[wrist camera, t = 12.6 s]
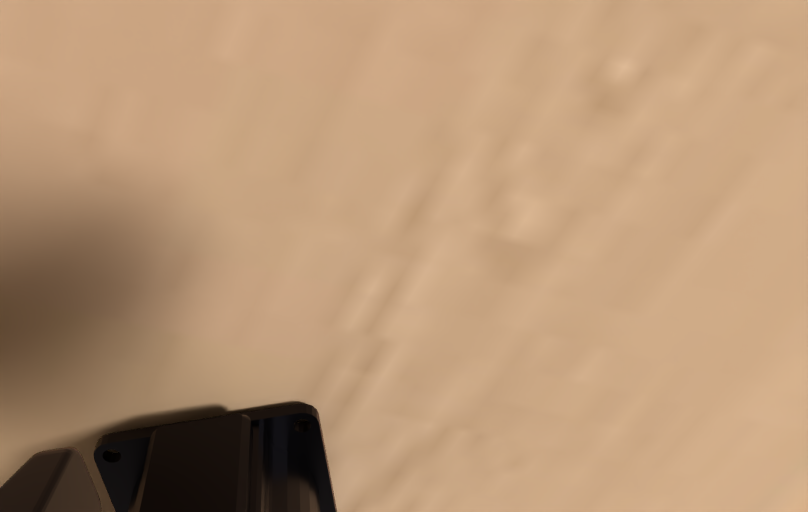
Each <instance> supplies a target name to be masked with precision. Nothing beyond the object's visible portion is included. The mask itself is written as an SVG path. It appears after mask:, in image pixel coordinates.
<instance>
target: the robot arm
mask: <svg viewBox="0 0 808 512" xmlns="http://www.w3.org/2000/svg"><path fill="white" fill-rule="evenodd" d="M300 419H306V420H308V421H307V422H305V423H298V422H296V421H297V420H300ZM108 450H116V451H118V452H117V453H114V452H110V451H108ZM94 460H95V462H96V465H97V467H98V470H99V472H100V474H101V477H102V479H103V482H104V484H105V487H106V489H107V492H108V494H109V496H110V499H111V501H112V504H113V506H114V509H115V511H116V512H337V509H336V503H335V498H334V493H333V487H332V482H331V477H330V472H329V466H328V461H327V456H326V450H325V445H324V440H323V435H322V429H321V424H320V419H319V414H318V412H317V409H315V408H314V407H313V406H311V405H308V404H295V405H289V406H283V407H276V408H270V409H263V410H257V411H251V412H244V413H238V414H232V415H225V416H219V417H212V418H206V419H200V420H193V421H187V422H180V423H174V424H168V425H161V426H155V427H149V428H142V429H136V430H129V431H123V432H117V433H110V434H107V435H104V436H102V437H101V438H100V439H99V440H98V442H97V444H96V447H95V451H94ZM0 512H101V503H100V499H99V496H98V493H97V491H96V489H95V486H94V484H93V481H92V479H91V477H90V474H89V472H88V469H87V467H86V465H85V462H84V460H83V457H82V455H81V454H80V452H79V451H78V450H77V449H75V448H72V447H67V448H60V449H54V450H47V451H42V452H39V453H37V454H35V455H34V456H32V457H31V458H30V459H29V460H28V461H27V462H26V463H25V464H24V465H23V466H22V467H21V468H20V469H19V470H18V471H17V472H16V473H15V474H14V475H13V476H12V477H11V478H10V479H9V480H8V481H7V482H6V483H5V484H4V485H3V486H2V487H0Z"/></svg>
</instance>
